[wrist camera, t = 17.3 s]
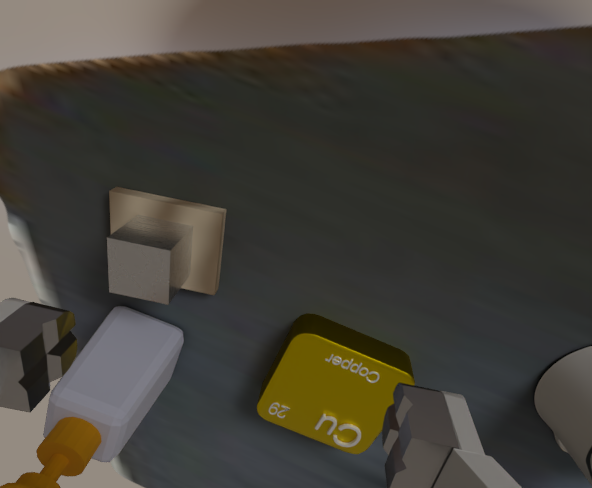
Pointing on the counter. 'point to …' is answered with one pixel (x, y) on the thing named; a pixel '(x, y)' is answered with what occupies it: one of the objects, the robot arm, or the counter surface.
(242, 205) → the counter surface
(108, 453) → the soap bottle
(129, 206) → the birch base
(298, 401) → the element tile
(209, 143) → the counter surface
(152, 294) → the upright gray block
